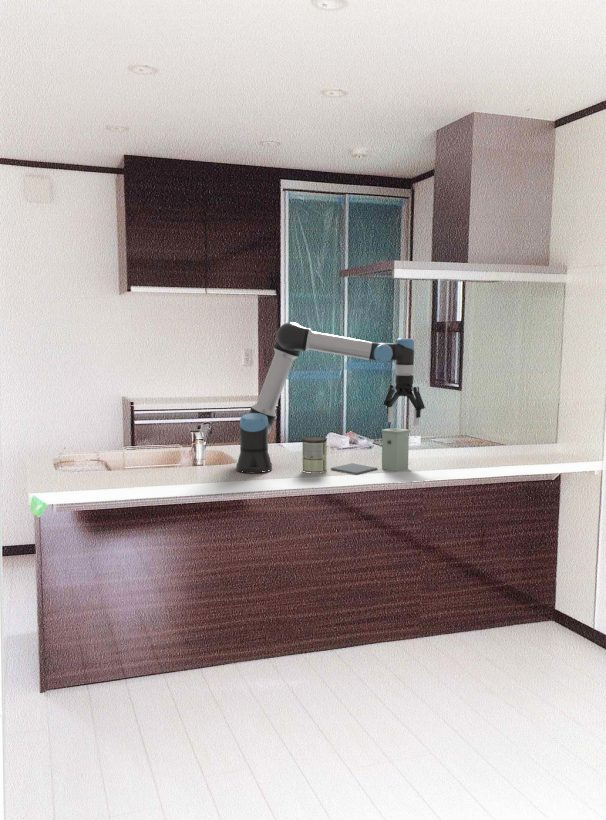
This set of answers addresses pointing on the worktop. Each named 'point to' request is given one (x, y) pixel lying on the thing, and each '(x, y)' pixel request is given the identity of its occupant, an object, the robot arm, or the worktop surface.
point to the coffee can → (314, 454)
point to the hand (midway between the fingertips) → (403, 423)
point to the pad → (354, 468)
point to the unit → (395, 449)
